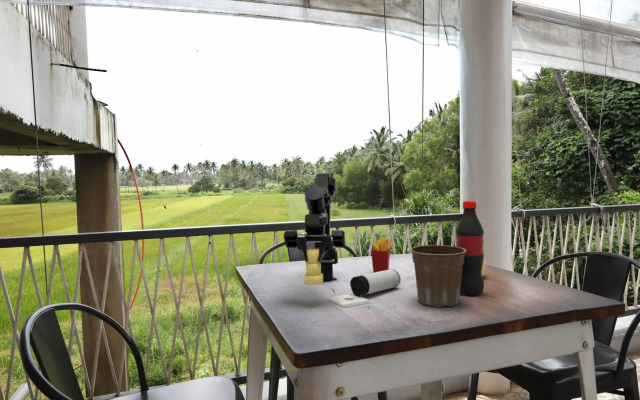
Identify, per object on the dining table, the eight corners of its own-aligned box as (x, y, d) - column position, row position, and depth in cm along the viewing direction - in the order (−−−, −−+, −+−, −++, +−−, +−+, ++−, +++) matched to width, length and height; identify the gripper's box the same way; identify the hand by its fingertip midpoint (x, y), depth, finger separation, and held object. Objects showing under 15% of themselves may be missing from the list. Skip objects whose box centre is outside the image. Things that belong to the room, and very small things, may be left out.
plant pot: (459, 313, 116) (458, 255, 115) (403, 305, 124) (402, 251, 123) (472, 298, 129) (471, 246, 129) (421, 292, 138) (420, 243, 137)
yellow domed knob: (301, 282, 127) (300, 249, 127) (318, 279, 130) (317, 247, 129) (309, 285, 122) (308, 251, 122) (326, 283, 125) (325, 250, 124)
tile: (329, 300, 131) (329, 297, 131) (354, 296, 135) (354, 293, 135) (343, 307, 123) (343, 304, 123) (369, 302, 127) (369, 300, 127)
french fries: (370, 275, 164) (370, 237, 163) (375, 271, 171) (374, 234, 171) (393, 277, 161) (392, 238, 160) (396, 272, 168) (396, 235, 168)
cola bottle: (483, 291, 138) (483, 199, 136) (484, 298, 130) (484, 201, 128) (456, 289, 140) (455, 200, 139) (456, 296, 132) (455, 201, 131)
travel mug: (404, 283, 142) (366, 292, 128) (390, 289, 146) (352, 299, 132) (397, 266, 144) (359, 273, 130) (383, 272, 148) (345, 280, 134)
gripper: (283, 204, 130) (276, 245, 119) (344, 203, 128) (342, 245, 117) (289, 227, 138) (283, 267, 128) (346, 226, 136) (344, 267, 125)
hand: (312, 261), depth 124 cm, fingers closed on yellow domed knob, 4 cm apart
